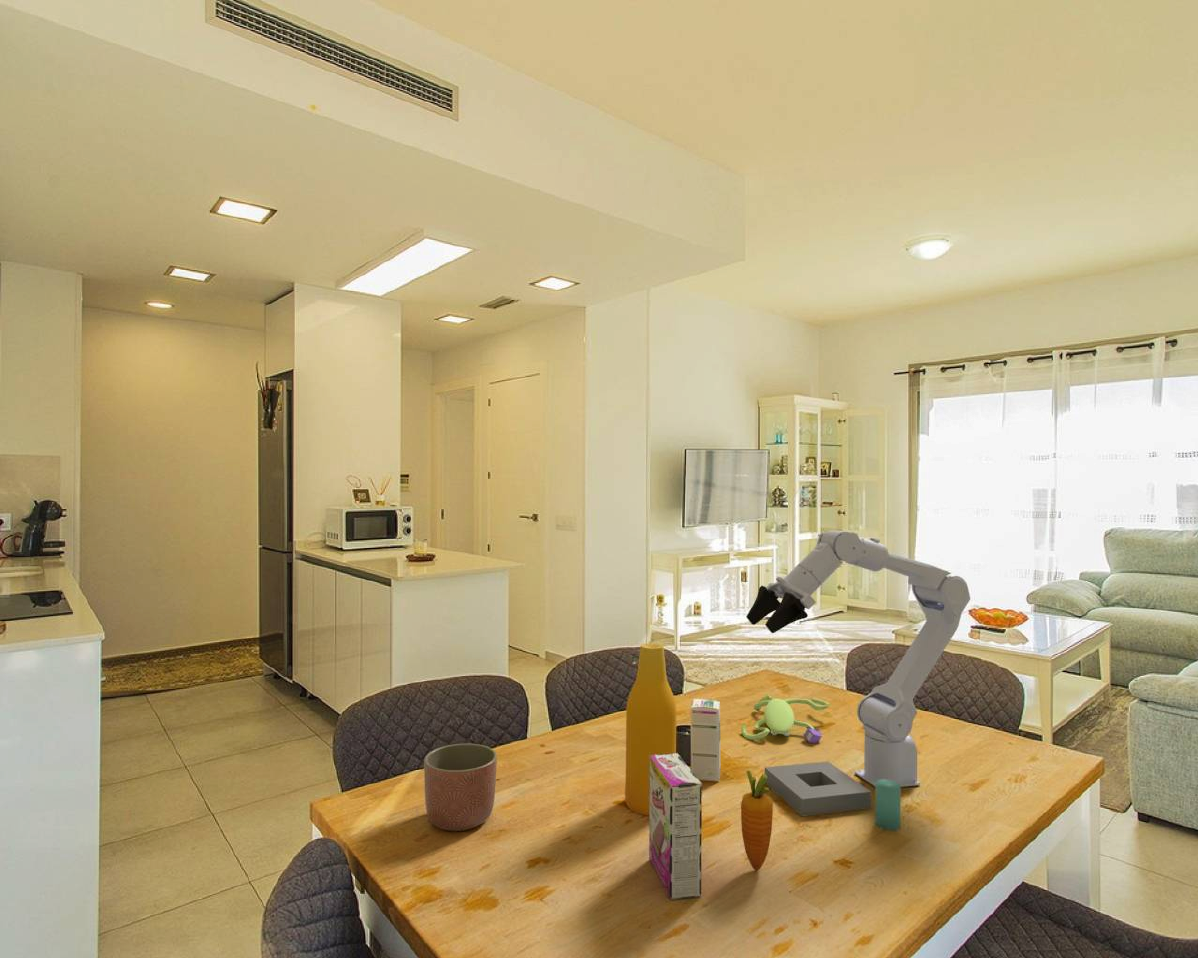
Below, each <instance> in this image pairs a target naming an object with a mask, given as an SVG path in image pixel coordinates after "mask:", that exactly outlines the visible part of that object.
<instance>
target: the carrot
mask: <svg viewBox="0 0 1198 958" xmlns="http://www.w3.org/2000/svg"><path fill="white" fill-rule="evenodd" d="M745 774H746V776H747V779H748V782H749V785H750V790H751V792H747V793H744V794H743V795H742V800H741V803H740V809H741V810H740V815H741V816H740V820H741V822H740V823H741V835H742V841H743V846H744V851H745V854H746V857H747V859H748V861H749V863H750V866H751V867H752V869H753V870H754V871H756V872H758V871H759V870H760V869H761V868H762V867H763V865H764V863H765V861H766V858H767V855H768V853H769V847H770V844H771V843H770V842H771V836H772V830H773V816H774V815H773V814H774V803H773V802H774V801H773V799H772V798H771V797H770V796H768V795H766V793H768V791H769V790H770V789H769V788H770V787H768V786H766V787H765V786H764V785H766V784H765V782H766V780H767V775H766V774H765V773H762V774H761V776H760V777H759V779H758V782H757V783H756V781H757V778H756V777H755V776H753V774H752V772H751V770H747V771H745Z"/></svg>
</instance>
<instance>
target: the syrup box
mask: <svg viewBox="0 0 1198 958" xmlns="http://www.w3.org/2000/svg"><path fill="white" fill-rule="evenodd" d="M690 770H691V771H692V772H693V773H694V775H695V776H696V777H697V778H698V780H699V781H707V782H709V781H710V782H720V778H721V702H720V700H717V699H710V698H693V699H692V702H691V705H690Z"/></svg>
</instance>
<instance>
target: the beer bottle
mask: <svg viewBox="0 0 1198 958" xmlns="http://www.w3.org/2000/svg"><path fill="white" fill-rule="evenodd" d="M639 648H640V649H639V657H638V665H637V666H638V667H637V674H636V678H635V682H634V684H633V685H632V688H631V690H630V692H629V695H628V696H627V697H628V698H627V702H626V709H625V710H626V712H625V715H626V716H625V718H626V723H625V724H626V725H625V726H626V727H625V728H626V730H625V783H624V784H625V785H624V786H625V787H624V798H625V799H624V800H625V805H626V806H627V808H628V809H629V810H630V811H632V812H633V813H636V814H639V815H642V816H649V814H650V799H649V797H650V795H649V794H650V791H649V789H650V788H649V784H650V782H649V781H650V758H649V756H651V755H656V754H657V755H661V754H674V753H677V704H676V699H675V696H674V693H673V691H672V689H671V686H670V684H669V682H668V677H667V671H666V670H667V669H666V668H667V667H666V659H665V648H664V645H663V644H660V643H652V642H650V643H649V642H648V643H642V644H641V645H640V647H639Z"/></svg>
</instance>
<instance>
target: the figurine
mask: <svg viewBox="0 0 1198 958" xmlns="http://www.w3.org/2000/svg"><path fill="white" fill-rule="evenodd" d="M790 704H805V705H808V706H809V707H811V708H812V709H814V710H816V711H824V710H827V709H828V708H829V707H830V702H828V701H824V700H822V699H819V698H817V697H812V698H811V699H807V698H800V697H799V698H788V699H787V698H786V699H781V698H773V699H772V696H771V695H765V696H763V697H762V698H761V699H759V701H758V702H757V703H756V704H754V706H753V709H754V710H755V711H760V710H761V708H762V707H765V708H764V713H763V716H764V718H761V719H759V720H758V721H756V722H755V724H754V729H755V730H758V731H759V730H760V731H761V732H758V733H757V734H749V733H748V732H747V731H746V730H747V727H748V726H747V724H745V723H744V724H742V726H741V734H742V736H743V737H744V738H745V739H747V740H749V741H756V740H757V741H758V740H760V739H764V738H766V737H767V736H768V735H769V734H771V735H772V736H776V735H778V734H779V735H783V736H785V737H789V735H790V731H791V729H792V728H793V725H794V726H797V727H798V726H799V727H805V728H806V730H805V732H804V734H803V735H802V736H803V737H804V738H805V740H807V742H808V743H812V744H814V743H818V742H820V740H821V738H822V732H821V730H819V728H817V727H814V726H813V725H812V724H810V723H809V722H804V721H799V720H796V719H795V713H794V710H793V709H792V707H791V705H790ZM758 709H759V710H758ZM764 724H766V725H767V726H768V727H764V726H763V727H761V726H762V725H764Z"/></svg>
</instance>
